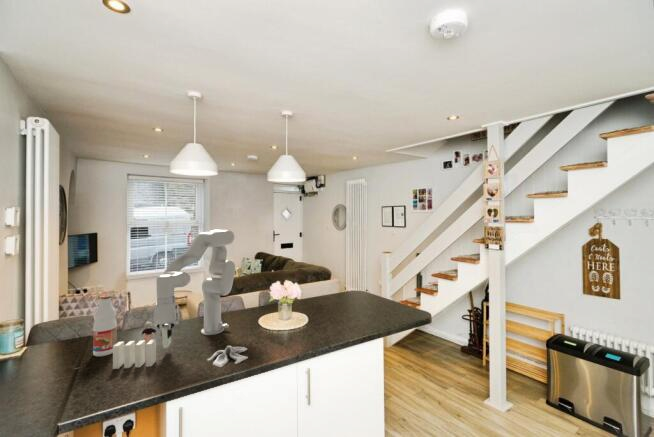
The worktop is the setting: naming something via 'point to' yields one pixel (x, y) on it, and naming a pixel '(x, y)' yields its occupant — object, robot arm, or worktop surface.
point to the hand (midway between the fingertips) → (166, 337)
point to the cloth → (228, 355)
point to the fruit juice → (104, 327)
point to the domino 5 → (165, 336)
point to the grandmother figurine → (148, 332)
